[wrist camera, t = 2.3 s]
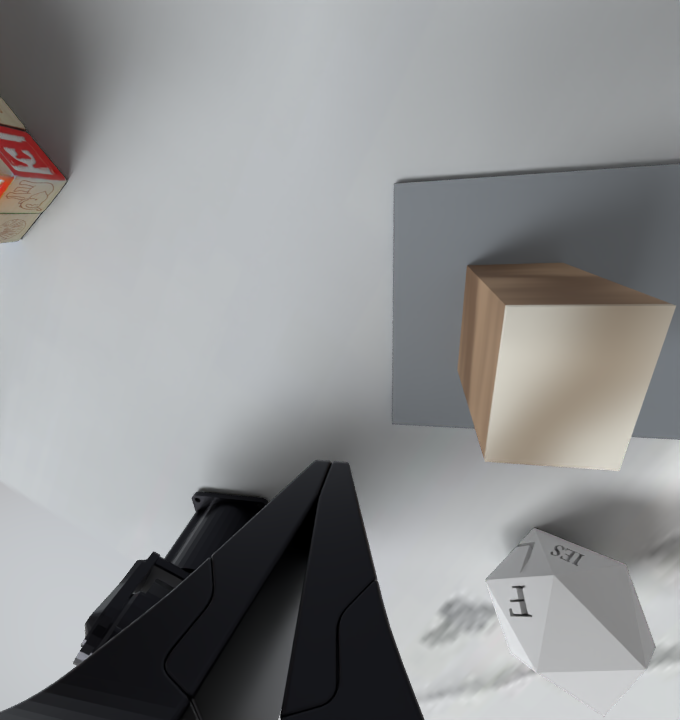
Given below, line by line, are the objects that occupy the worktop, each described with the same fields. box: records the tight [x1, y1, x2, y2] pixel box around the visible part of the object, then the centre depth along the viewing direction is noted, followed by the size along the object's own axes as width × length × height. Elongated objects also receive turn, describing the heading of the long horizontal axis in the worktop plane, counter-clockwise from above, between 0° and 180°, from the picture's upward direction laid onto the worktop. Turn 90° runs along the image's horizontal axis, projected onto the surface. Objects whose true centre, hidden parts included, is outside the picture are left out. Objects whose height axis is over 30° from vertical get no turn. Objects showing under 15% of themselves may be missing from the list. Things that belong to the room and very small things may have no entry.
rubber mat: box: [392, 164, 680, 440], centre depth 18 cm, size 17×14×1 cm
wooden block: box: [457, 263, 676, 471], centre depth 15 cm, size 4×6×8 cm
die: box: [485, 528, 656, 717], centre depth 22 cm, size 8×9×10 cm
